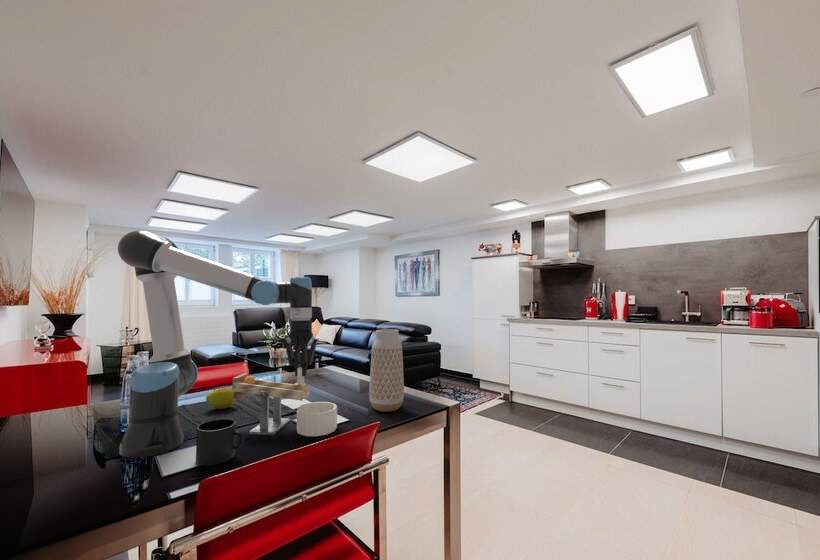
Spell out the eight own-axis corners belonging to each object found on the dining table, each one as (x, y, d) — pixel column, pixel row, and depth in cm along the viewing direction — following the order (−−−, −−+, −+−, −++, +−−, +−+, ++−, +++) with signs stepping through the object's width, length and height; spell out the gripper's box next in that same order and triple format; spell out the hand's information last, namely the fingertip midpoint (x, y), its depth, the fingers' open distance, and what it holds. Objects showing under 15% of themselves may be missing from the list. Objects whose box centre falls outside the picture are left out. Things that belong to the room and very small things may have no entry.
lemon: (239, 404, 144) (239, 384, 144) (234, 410, 136) (235, 389, 137) (209, 406, 141) (209, 386, 141) (203, 413, 134) (203, 391, 134)
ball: (239, 383, 119) (245, 375, 119) (245, 381, 123) (250, 372, 123) (247, 389, 119) (253, 381, 119) (253, 387, 122) (258, 378, 122)
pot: (290, 435, 113) (291, 413, 113) (305, 421, 125) (305, 401, 125) (329, 436, 112) (330, 414, 112) (340, 422, 124) (340, 402, 124)
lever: (230, 398, 117) (233, 377, 118) (254, 386, 132) (256, 368, 133) (300, 408, 116) (303, 387, 116) (316, 395, 131) (318, 376, 131)
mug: (236, 465, 93) (237, 430, 93) (188, 467, 92) (189, 431, 92) (249, 449, 102) (250, 417, 103) (206, 451, 101) (207, 418, 101)
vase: (410, 406, 143) (410, 329, 144) (390, 416, 131) (391, 332, 133) (382, 400, 150) (383, 328, 152) (361, 409, 139) (362, 330, 140)
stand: (249, 434, 113) (250, 392, 114) (268, 420, 126) (269, 382, 127) (273, 435, 113) (274, 393, 113) (290, 420, 126) (290, 383, 126)
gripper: (279, 320, 125) (278, 388, 124) (315, 320, 124) (315, 388, 123) (287, 318, 132) (287, 382, 131) (322, 318, 131) (321, 383, 130)
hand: (300, 385), depth 127 cm, fingers closed
